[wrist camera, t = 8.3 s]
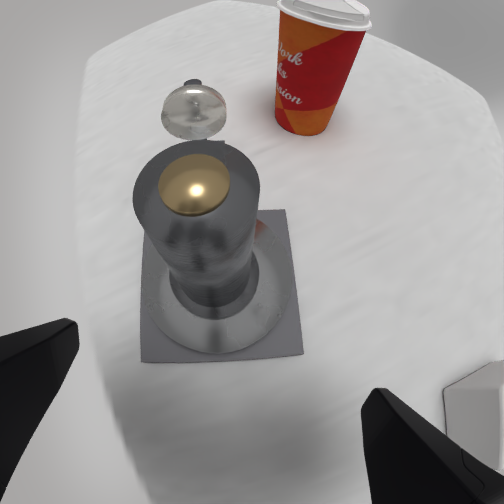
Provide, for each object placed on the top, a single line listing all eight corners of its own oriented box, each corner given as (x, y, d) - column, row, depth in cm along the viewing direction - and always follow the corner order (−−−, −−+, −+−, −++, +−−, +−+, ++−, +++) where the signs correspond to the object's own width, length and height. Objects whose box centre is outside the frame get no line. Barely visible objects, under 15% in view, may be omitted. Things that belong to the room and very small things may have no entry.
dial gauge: (228, 180, 24) (226, 93, 16) (177, 183, 24) (155, 99, 16) (226, 146, 26) (225, 62, 17) (179, 149, 26) (163, 68, 17)
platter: (296, 347, 18) (300, 345, 17) (146, 354, 18) (140, 353, 17) (277, 197, 23) (279, 189, 22) (151, 205, 22) (147, 197, 21)
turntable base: (301, 354, 19) (303, 354, 19) (143, 362, 18) (140, 361, 18) (284, 213, 23) (285, 209, 23) (147, 221, 22) (145, 217, 22)
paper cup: (268, 92, 29) (280, -19, 17) (334, 103, 29) (366, -1, 17) (260, 137, 26) (274, 2, 14) (338, 151, 26) (386, 27, 13)
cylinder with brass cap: (271, 301, 18) (307, 225, 9) (187, 332, 17) (130, 286, 8) (240, 227, 20) (243, 110, 11) (162, 253, 19) (107, 152, 10)
